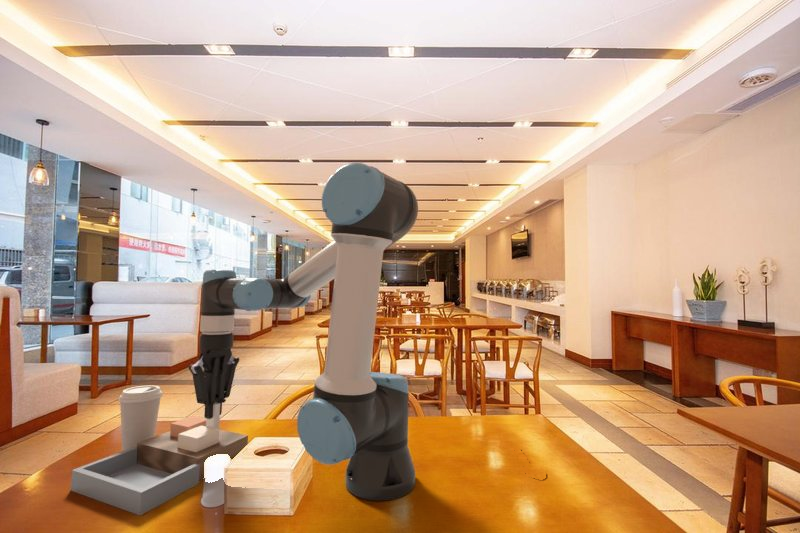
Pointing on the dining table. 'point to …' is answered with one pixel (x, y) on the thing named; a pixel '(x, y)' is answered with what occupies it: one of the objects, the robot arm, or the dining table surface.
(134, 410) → the coffee cup
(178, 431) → the terracotta tile
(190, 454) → the dark brown wooden slab
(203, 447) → the cream tile
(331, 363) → the robot arm
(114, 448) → the dining table surface
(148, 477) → the box
